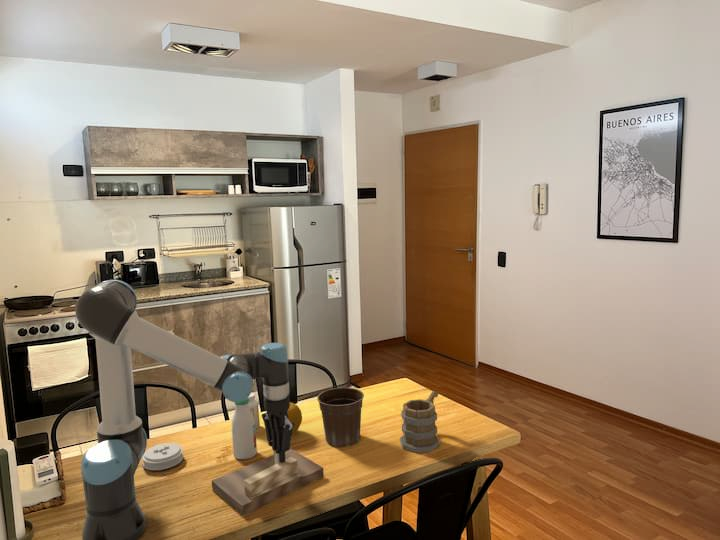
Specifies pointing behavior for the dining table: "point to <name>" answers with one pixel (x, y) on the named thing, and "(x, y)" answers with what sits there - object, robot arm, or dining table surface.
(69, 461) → the dining table surface
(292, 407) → the apple
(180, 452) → the lid
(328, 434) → the plant pot
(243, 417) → the milk bottle
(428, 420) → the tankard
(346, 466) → the dining table surface
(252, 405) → the supplement bottle
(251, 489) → the folding leg
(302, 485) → the stool seat
